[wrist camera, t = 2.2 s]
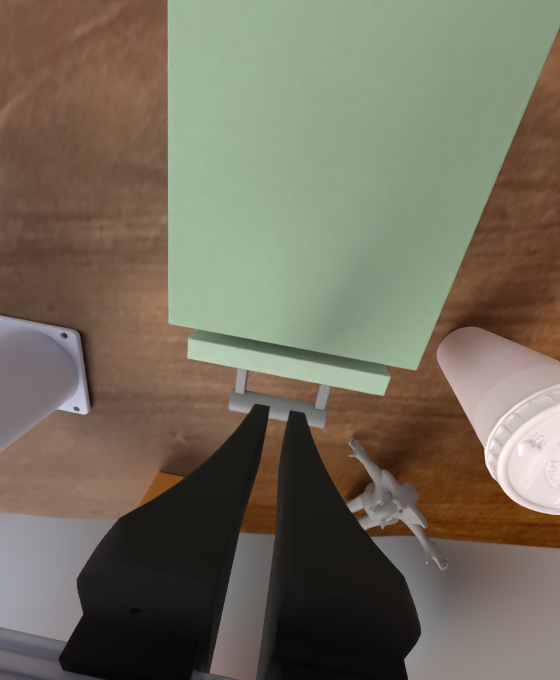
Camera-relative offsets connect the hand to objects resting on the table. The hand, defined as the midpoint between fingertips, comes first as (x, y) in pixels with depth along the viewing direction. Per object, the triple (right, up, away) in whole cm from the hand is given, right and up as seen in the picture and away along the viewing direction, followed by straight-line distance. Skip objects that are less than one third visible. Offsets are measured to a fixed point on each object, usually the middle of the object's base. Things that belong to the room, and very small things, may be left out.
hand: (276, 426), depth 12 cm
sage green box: (+2, +12, +5) cm, 13 cm away
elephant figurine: (+9, -8, +13) cm, 18 cm away
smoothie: (+13, +3, +8) cm, 15 cm away
